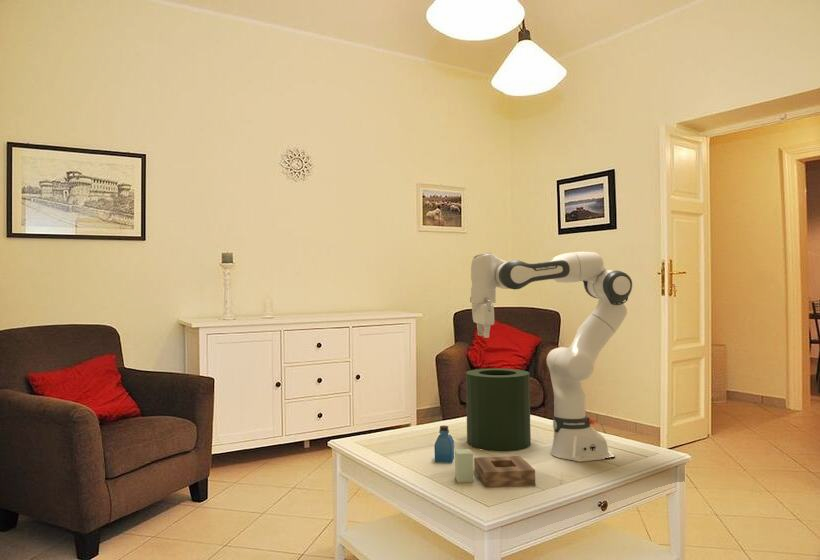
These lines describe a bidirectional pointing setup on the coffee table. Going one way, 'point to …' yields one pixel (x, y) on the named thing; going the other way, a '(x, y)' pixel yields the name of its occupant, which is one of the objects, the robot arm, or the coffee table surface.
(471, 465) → the sage plug
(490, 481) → the walnut stand
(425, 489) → the coffee table surface
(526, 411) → the flower pot
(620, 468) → the coffee table surface
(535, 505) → the coffee table surface
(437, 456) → the perfume bottle
